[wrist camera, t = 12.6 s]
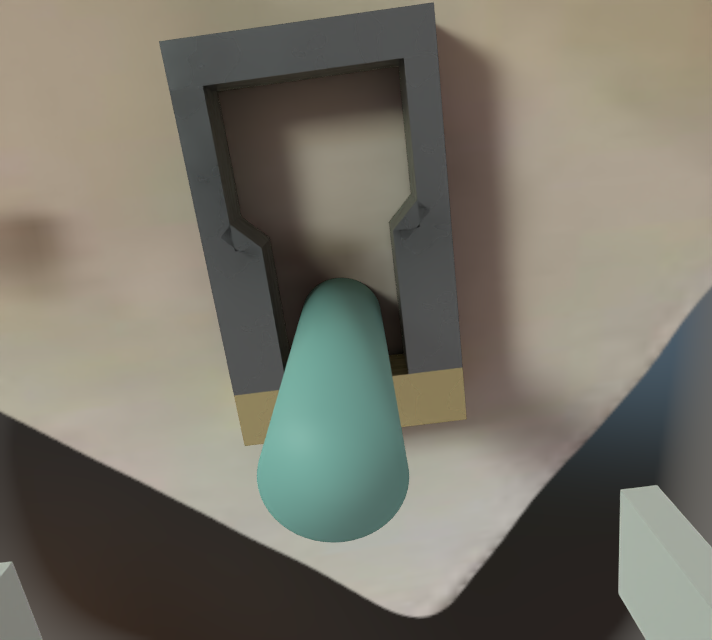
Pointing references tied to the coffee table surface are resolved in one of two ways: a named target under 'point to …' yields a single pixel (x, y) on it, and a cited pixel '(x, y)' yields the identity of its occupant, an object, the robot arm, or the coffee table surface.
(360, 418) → the peg
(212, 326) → the coffee table surface
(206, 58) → the keyhole plate
